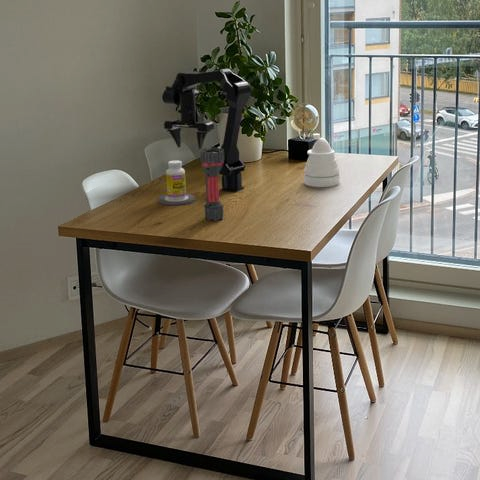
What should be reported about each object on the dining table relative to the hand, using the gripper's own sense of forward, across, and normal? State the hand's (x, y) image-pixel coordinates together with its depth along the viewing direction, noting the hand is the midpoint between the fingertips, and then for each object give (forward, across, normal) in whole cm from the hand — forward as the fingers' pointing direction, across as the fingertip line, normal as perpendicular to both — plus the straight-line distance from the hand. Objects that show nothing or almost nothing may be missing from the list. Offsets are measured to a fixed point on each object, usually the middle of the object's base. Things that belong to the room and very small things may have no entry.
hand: (189, 148), depth 330 cm
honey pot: (+13, -46, -17) cm, 51 cm away
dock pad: (+13, -10, +25) cm, 30 cm away
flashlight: (+13, -34, +40) cm, 54 cm away
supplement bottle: (+12, -10, +25) cm, 29 cm away
